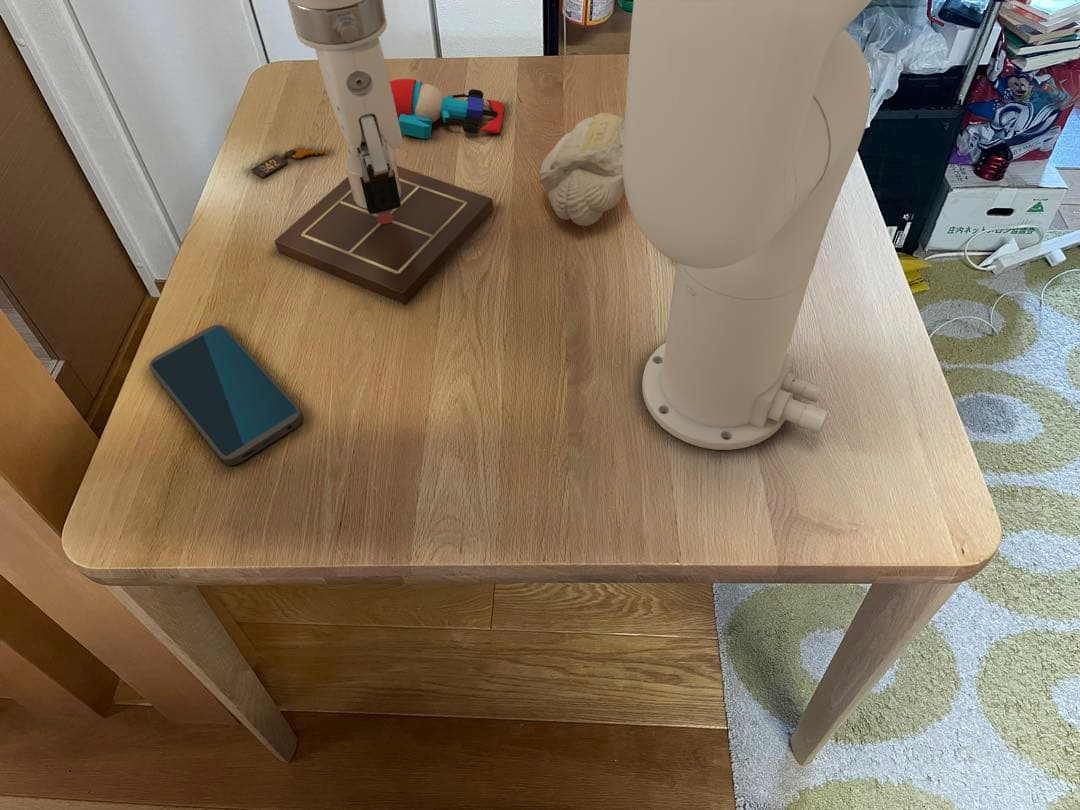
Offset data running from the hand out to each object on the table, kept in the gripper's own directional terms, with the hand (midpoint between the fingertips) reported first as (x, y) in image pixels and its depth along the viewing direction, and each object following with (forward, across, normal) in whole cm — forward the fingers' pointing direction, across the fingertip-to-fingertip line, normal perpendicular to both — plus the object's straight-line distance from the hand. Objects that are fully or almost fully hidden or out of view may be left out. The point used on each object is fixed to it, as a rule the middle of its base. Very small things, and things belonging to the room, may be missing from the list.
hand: (377, 190), depth 82 cm
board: (+5, 0, 0) cm, 5 cm away
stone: (0, 0, 0) cm, 0 cm away
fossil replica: (+5, -3, -21) cm, 22 cm away
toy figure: (+5, +17, -11) cm, 21 cm away
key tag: (+5, +15, +8) cm, 18 cm away
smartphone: (+5, -16, +18) cm, 25 cm away
